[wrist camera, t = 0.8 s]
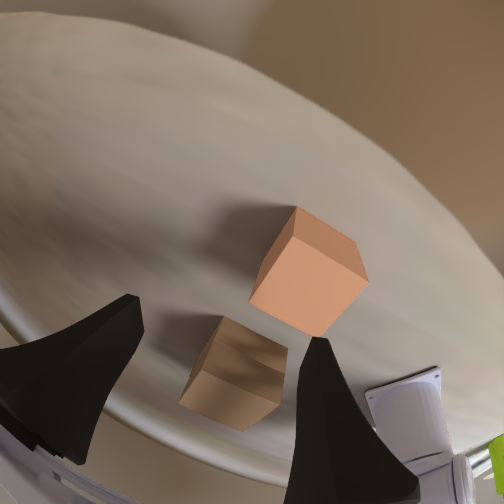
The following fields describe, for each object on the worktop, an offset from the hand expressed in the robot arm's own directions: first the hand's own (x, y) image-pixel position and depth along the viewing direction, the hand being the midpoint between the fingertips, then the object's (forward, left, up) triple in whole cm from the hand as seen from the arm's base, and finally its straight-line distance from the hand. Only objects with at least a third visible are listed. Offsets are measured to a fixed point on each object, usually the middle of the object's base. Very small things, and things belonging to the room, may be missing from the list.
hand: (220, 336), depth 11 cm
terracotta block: (-2, -3, -9) cm, 10 cm away
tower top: (-9, +6, -6) cm, 12 cm away
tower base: (-9, +6, -9) cm, 14 cm away
